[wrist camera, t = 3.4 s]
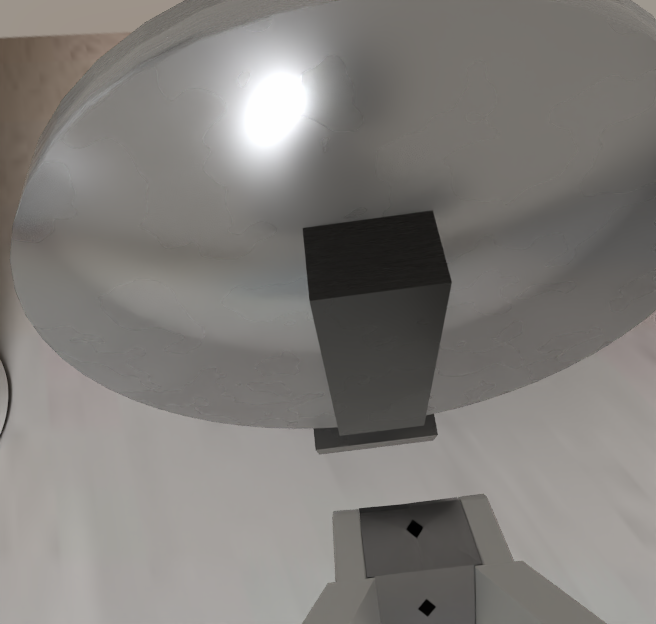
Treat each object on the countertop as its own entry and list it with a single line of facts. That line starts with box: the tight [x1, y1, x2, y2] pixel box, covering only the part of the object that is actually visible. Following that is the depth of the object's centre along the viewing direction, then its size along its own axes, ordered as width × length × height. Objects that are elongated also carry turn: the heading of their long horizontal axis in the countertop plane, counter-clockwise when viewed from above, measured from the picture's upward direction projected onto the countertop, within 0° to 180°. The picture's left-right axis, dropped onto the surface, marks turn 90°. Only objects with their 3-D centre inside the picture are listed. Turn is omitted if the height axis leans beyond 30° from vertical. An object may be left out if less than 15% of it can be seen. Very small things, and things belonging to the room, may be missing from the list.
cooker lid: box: [10, 0, 656, 436], centre depth 16 cm, size 19×19×4 cm
